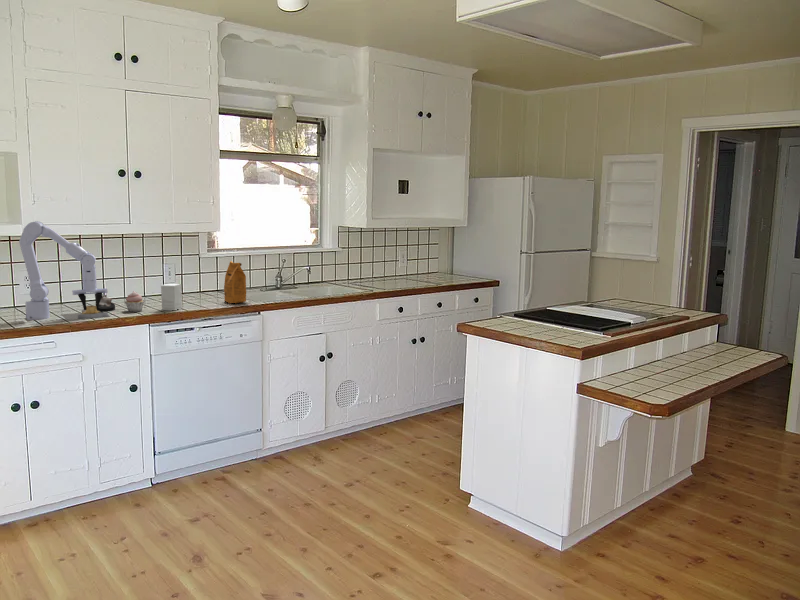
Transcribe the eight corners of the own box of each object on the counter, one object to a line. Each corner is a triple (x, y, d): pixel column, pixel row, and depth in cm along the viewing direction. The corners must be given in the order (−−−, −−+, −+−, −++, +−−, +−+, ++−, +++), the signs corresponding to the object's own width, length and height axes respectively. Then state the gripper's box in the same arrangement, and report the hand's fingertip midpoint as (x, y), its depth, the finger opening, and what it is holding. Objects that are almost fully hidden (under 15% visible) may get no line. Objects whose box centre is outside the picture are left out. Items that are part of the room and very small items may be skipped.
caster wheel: (107, 318, 326) (90, 314, 329) (123, 310, 336) (106, 306, 339) (106, 306, 324) (89, 301, 326) (122, 298, 334) (105, 294, 336)
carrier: (67, 322, 302) (67, 314, 302) (60, 316, 315) (60, 309, 315) (110, 318, 312) (110, 310, 312) (102, 313, 326) (101, 306, 325)
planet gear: (84, 317, 308) (83, 308, 307) (81, 315, 314) (80, 305, 313) (101, 316, 312) (101, 306, 311) (98, 314, 318) (97, 304, 317)
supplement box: (182, 308, 344) (181, 283, 342) (174, 311, 337) (174, 285, 335) (169, 308, 345) (168, 283, 343) (161, 310, 338) (160, 285, 336)
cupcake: (132, 309, 340) (131, 289, 338) (148, 310, 338) (147, 290, 336) (120, 312, 331) (119, 291, 329) (137, 313, 329) (136, 292, 327)
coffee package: (238, 300, 375) (238, 260, 372) (248, 303, 366) (247, 262, 362) (221, 301, 369) (220, 261, 366) (231, 304, 359) (230, 263, 356)
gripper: (73, 282, 303) (75, 312, 305) (108, 280, 311) (109, 309, 313) (70, 280, 309) (72, 309, 311) (104, 278, 317) (106, 307, 319)
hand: (91, 309), depth 312 cm, fingers closed on planet gear, 4 cm apart
